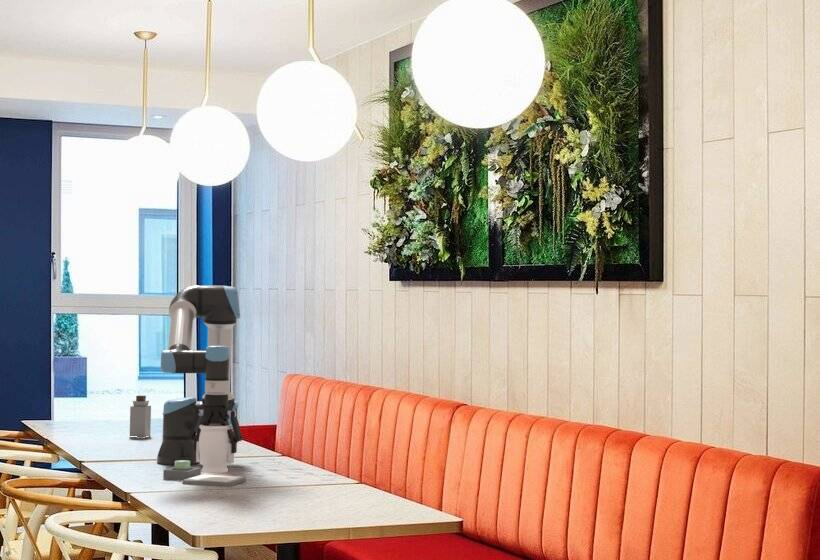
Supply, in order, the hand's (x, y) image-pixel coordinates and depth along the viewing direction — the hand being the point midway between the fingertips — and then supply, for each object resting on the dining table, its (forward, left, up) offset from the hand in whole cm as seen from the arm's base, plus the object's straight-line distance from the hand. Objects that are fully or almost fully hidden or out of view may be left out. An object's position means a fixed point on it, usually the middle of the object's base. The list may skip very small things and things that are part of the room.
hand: (214, 462), depth 359 cm
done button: (-14, +5, -4) cm, 15 cm away
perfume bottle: (-86, +106, -7) cm, 137 cm away
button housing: (-14, +5, -6) cm, 16 cm away
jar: (0, 0, -3) cm, 3 cm away
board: (0, 0, -6) cm, 6 cm away
